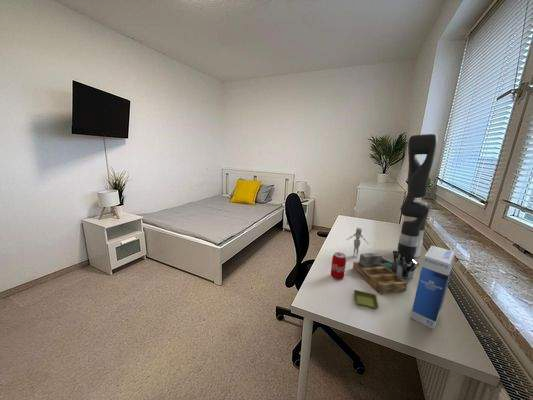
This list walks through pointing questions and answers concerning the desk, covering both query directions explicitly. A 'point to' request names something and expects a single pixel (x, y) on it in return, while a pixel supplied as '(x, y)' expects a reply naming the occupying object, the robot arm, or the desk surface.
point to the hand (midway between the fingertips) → (401, 274)
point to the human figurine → (357, 240)
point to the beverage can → (338, 266)
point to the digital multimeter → (386, 263)
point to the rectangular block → (400, 269)
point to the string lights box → (432, 285)
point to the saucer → (365, 299)
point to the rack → (378, 274)
